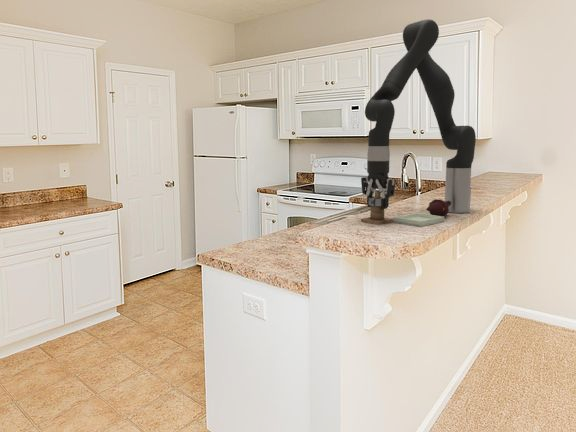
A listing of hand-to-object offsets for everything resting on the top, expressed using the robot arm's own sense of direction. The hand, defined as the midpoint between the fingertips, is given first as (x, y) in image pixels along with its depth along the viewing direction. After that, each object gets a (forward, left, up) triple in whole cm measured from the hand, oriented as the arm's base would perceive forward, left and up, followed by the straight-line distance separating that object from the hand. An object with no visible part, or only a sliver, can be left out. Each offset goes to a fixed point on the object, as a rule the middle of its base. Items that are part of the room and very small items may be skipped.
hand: (377, 207), depth 162 cm
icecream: (-24, +9, -5) cm, 26 cm away
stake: (0, 0, -5) cm, 5 cm away
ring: (0, 0, +1) cm, 1 cm away
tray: (-10, +10, -5) cm, 15 cm away
